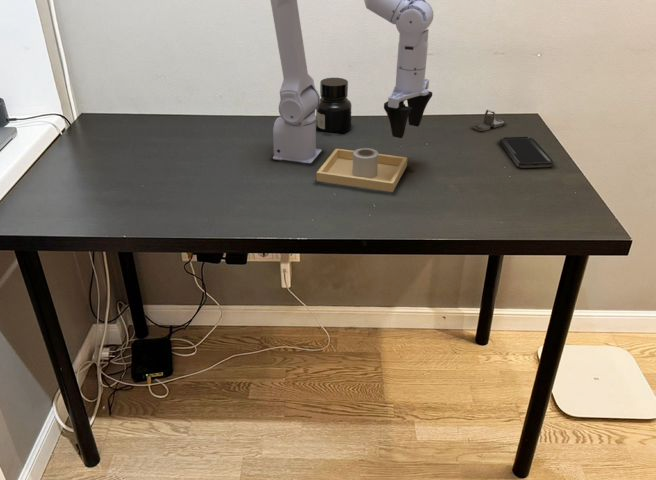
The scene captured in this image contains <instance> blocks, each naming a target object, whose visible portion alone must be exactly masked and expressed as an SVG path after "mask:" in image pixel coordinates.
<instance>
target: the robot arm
mask: <svg viewBox="0 0 656 480" xmlns="http://www.w3.org/2000/svg"><path fill="white" fill-rule="evenodd" d="M363 2H364V5H365V8H366V9H367V10H368V11H370V12H372V13H374V14H376V15H377V16H379V17H381V18H382V19H384V20H385V21H387V22H389V23H391V24H392V25H395V27H396V30H397V32H398V33H399V35H398V36H399V37H398V44H397V58H396V59H397V60H396V61H397V62H396V72H395V73H396V75H395V86H394V88H393V90H392V92H391V94H390V96H388V98H387V101H386V102H384V103H383V109H384V111H385V113H386V115H387V117H388V121H389V124H390V130H391V134H392V137H394V138H397V139H403V137H404V135H405V132H406V125H407V122H408V125H409V126H412V127H413V126H414V127H420V124H421V122H422V120H423V115H424V113H425V110H426V107H427V106H428V103H429V102H430V100H431V98H432V97H433V92H432V91H430V89H429V86H430V79H427V78H426V69H427V68H426V67H427V59H428V48H429V29H428V28H429V27H430V26H431V24H432V22H433V20H434V10H433V8H432V6H431V4H430V3H429V2H427V1H426V0H363ZM270 6H271V12H272V17H273V18H272V19H273V23H274V29H275V35H276V42H277V48H278V54H279V60H280V65H281V71H282V77H283V80H282V83H281V86H280V89H279V99H280V100H279V104H278V114H279V115H280V116H279V117H277V118H276V119H275V121H274V124H273V127H272V137H273V138H272V140H273V141H272V144H273V156H272V160H274V161H282V160H284V161H290V162H291V161H292V162H300V163H304V164H305V163H306V164H312V163H313V162H314V160H315V159H316V158H317V157H318V156H319V154H321V152H322V149H320V148H317V128H316V109H317V108H318V106H319V104H320V99H321V96H320V95H321V94H320V92H319V91H318V90H317V88H316V85H315V80H314V78H313V77H312V76H310V74H309V73H308V66H307V58H306V52H305V51H306V50H305V45H304V39H303V32H302V25H301V18H300V11H299V5H298V0H270ZM405 102H406V103H407V106H406V103H405Z"/></svg>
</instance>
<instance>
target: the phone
mask: <svg viewBox="0 0 656 480" xmlns="http://www.w3.org/2000/svg"><path fill="white" fill-rule="evenodd" d="M499 145H500V146H501V147H502V148H503V150H504V151H505V153H506V154H507V155H508V156H509V158H510V159H511V161H512V162H513V163H514V164H515V166H516V167H518V168H520V169H541V168H551V167H553V162H554V161H553V159H552V158H551V157H550V155H549V154H548V153H546V151H545V150H544V149H543V148H542V147H541V146H540V145H539V143H538V142H537V141H536V140H535V139H534V138H533V137H531V136H509V137H508V136H507V137H500V139H499Z"/></svg>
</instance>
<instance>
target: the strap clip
mask: <svg viewBox="0 0 656 480" xmlns="http://www.w3.org/2000/svg"><path fill="white" fill-rule="evenodd" d="M488 113H491V114H493V115H489V114H488ZM503 125H505V122H504V121H503V120H502V119H498V118H496V112H495V111H492V110H490V109H486V110H485V113H484V117H483V122H482V123H480V124H477V125H474V126H473V127H472V129H474V130H476V131H478V132H485V131H486V132H487V131H488V130H491V128H493V129H494V128H499V127H502V126H503Z"/></svg>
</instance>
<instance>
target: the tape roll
mask: <svg viewBox="0 0 656 480" xmlns="http://www.w3.org/2000/svg"><path fill="white" fill-rule="evenodd" d="M353 151H354V152H353V172H352V173H353V175H354V176H356V177H363V178H374V177H375V176H377V170H378V154H379V152H378V150H376V149H373V148H369V147H363V148H357V149H355V150H353Z"/></svg>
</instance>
